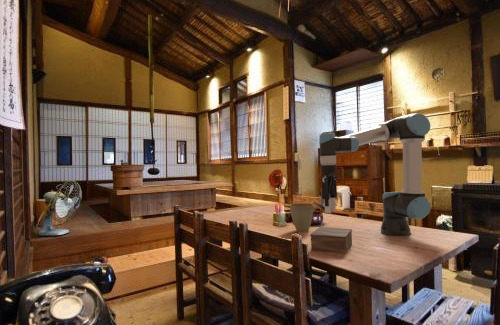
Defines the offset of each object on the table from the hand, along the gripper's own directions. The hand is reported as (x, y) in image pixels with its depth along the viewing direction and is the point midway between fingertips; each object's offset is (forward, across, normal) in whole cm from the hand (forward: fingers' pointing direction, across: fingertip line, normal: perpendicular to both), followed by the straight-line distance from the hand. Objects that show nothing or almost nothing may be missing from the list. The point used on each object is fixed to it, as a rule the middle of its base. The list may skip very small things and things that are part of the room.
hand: (330, 211), depth 144 cm
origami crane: (0, +1, -5) cm, 5 cm away
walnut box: (+18, 0, 0) cm, 18 cm away
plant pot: (+18, -24, -29) cm, 42 cm away
